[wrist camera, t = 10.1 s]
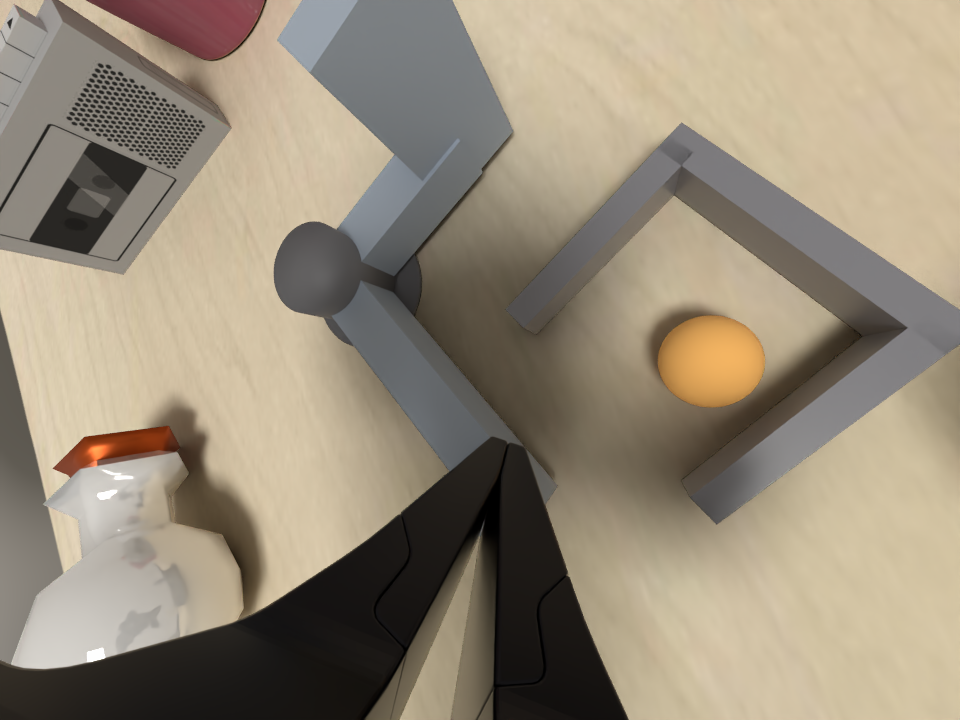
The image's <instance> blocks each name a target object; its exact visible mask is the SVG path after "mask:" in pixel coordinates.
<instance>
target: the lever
mask: <svg viewBox="0 0 960 720" xmlns="http://www.w3.org/2000/svg"><path fill="white" fill-rule="evenodd" d="M277 41H278V42H279V43H280V44H281V45H282V46H283V47H284V48H285V49H286V50H287V51H288V52H289V53H290V54H291V55H292V56H293V57H294V58H295V59H296V60H297V61H298V62H299V63H300V64H301V65H302V66H303V67H304V68H305V69H306V70H307V71H308V72H309V73H310V74H311V75H312V76H313V77H315V78H316V79H317V80H318V81H319V82H320V83H321V84H322V85H323V86H324V87H325V88H326V89H327V90H328V91H329V92H330V93H331V94H332V95H333V96H334V97H335V98H336V99H337V100H339V101H340V102H341V103H342V104H343V105H344V106H345V107H346V108H347V109H348V110H349V111H350V112H351V113H352V114H353V115H354V116H355V117H356V118H357V119H358V120H359V121H360V122H361V123H363V124H364V125H365V126H366V127H367V128H368V129H369V130H370V131H371V132H372V133H373V134H374V135H375V136H376V137H377V138H378V139H379V140H380V141H381V142H382V143H383V144H384V145H385V146H386V147H388V148H389V149H390V150H391V151H392V152H393V153H394V154H395V155H394V156H393V157H392V159H391V160H390V161H389V163H388V164H387V165H386V166H385V168H384V169H383V170H382V172H381V173H380V174H379V175H378V177H377V178H376V179H375V181H374V182H373V183H372V185H371V186H370V187H369V188H368V190H367V191H366V192H365V194H364V195H363V196H362V197H361V199H360V200H359V201H358V203H357V204H356V205H355V206H354V208H353V209H352V210H351V212H350V213H349V214H348V215H347V217H346V218H345V219H344V221H343V222H342V223H341V224H340V226H339V227H338V228H337V230H336V229H334V228H332V227H330V226H328V225H326V224H324V223H321V222H307V223H304V224H301V225H300V226H298V227H296V228H295V229H294V230H292V231H291V232H290V233H289V234H288V235H287V237H286V238H285V239H284V241H283V242H282V244H281V246H280V248H279V250H278V253H277V256H276V259H275V264H274V283H275V287H276V290H277V293H278V295H279V297H280V299H281V300H282V302H283V303H284V304H285V305H286V306H287V307H288V308H290V309H291V310H293V311H295V312H299V313H304V314H309V315H314V316H319V317H324V318H329V319H333V320H335V321H336V323H337V324H338V325H339V327H340V328H341V329H342V331H343V332H344V333H345V335H346V336H347V337H348V338H349V340H350V341H351V342H352V344H353V345H354V346H355V348H356V349H357V350H358V352H359V353H360V354H361V356H362V357H363V358H364V360H365V361H366V362H367V363H368V365H369V366H370V367H371V369H372V370H373V371H374V373H375V374H376V375H377V377H378V378H379V379H380V381H381V382H382V383H383V384H384V386H385V387H386V388H387V390H388V391H389V392H390V394H391V395H392V396H393V398H394V399H395V400H396V402H397V403H398V404H399V405H400V407H401V408H402V409H403V411H404V412H405V413H406V415H407V416H408V417H409V419H410V420H411V421H412V423H413V424H414V425H415V427H416V428H417V429H418V430H419V432H420V433H421V434H422V436H423V437H424V438H425V440H426V441H427V442H428V444H429V445H430V446H431V448H432V449H433V450H434V451H435V453H436V454H437V455H438V457H439V458H440V459H441V461H442V462H443V463H444V465H445V466H446V467H447V469H448V470H449V471H451V470H452V469H453V468H454V467H455V466H457V465H458V464H459V463H460V462H461V461H463V460H464V459H465V458H466V457H467V456H469V455H470V454H471V453H472V452H473V451H474V450H476V449H477V448H478V447H479V446H480V445H482V444H483V443H484V442H485V441H486V440H487V439H489V438H490V437H492V436H494V437H497V438H500V439H503V440H506V441H507V443H510V442H512V443H515V444H518V445H521V446H524V445H523V444H522V443H521V442H520V441H519V440H518V438H517V437H516V436H515V435H514V434H513V433H512V431H511V430H510V429H509V428H508V427H507V425H506V424H505V423H504V422H503V421H502V420H501V418H500V417H499V416H498V415H497V414H496V412H495V411H494V410H493V409H492V408H491V407H490V405H489V404H488V403H487V402H486V401H485V400H484V398H483V397H482V396H481V395H480V394H479V392H478V391H477V390H476V389H475V388H474V387H473V385H472V384H471V383H470V382H469V381H468V379H467V378H466V377H465V376H464V375H463V374H462V372H461V371H460V370H459V369H458V368H457V367H456V365H455V364H454V363H453V362H452V361H451V359H450V358H449V357H448V356H447V355H446V354H445V352H444V351H443V350H442V349H441V348H440V347H439V345H438V344H437V343H436V342H435V341H434V339H433V338H432V337H431V336H430V335H429V334H428V332H427V331H426V330H425V329H424V328H423V326H422V325H421V324H420V323H419V322H418V321H417V319H416V318H415V317H414V316H413V315H412V314H411V312H410V311H409V310H408V309H407V308H406V306H405V305H404V304H403V303H402V302H401V301H400V299H399V298H398V297H397V296H396V295H395V294H394V286H395V278H394V276H395V275H396V274H397V272H398V271H399V270H400V269H401V268H402V267H403V265H404V264H405V263H406V262H407V261H408V260H409V258H410V257H411V256H412V255H413V254H414V252H415V251H416V250H417V249H418V248H419V247H420V245H421V244H422V243H423V242H424V241H425V240H426V238H427V237H428V236H429V235H430V234H431V233H432V231H433V230H434V229H435V228H436V227H437V225H438V224H439V223H440V222H441V221H442V220H443V218H444V217H445V216H446V215H447V214H448V213H449V211H450V210H451V209H452V208H453V207H454V206H455V204H456V203H457V202H458V201H459V200H460V199H461V197H462V196H463V195H464V194H465V193H466V191H467V190H468V189H469V188H470V187H471V186H472V184H473V183H474V182H475V181H476V180H477V179H478V177H479V176H480V175H481V174H482V173H483V172H482V170H481V169H482V168H483V166H484V165H485V164H486V163H487V162H488V160H489V159H490V158H491V157H492V156H493V155H494V153H495V152H496V151H497V150H498V149H499V147H500V146H501V145H502V144H503V143H504V142H505V140H506V139H507V138H508V137H509V136H510V135H511V133H512V132H513V129H512V127H511V125H510V123H509V121H508V118H507V116H506V114H505V112H504V110H503V108H502V106H501V103H500V101H499V99H498V97H497V95H496V93H495V91H494V88H493V86H492V84H491V82H490V80H489V78H488V76H487V73H486V71H485V69H484V67H483V65H482V63H481V61H480V58H479V56H478V54H477V52H476V50H475V48H474V46H473V43H472V41H471V39H470V37H469V35H468V33H467V31H466V28H465V26H464V24H463V22H462V20H461V18H460V16H459V14H458V11H457V9H456V7H455V5H454V3H453V1H452V0H302V1H301V3H300V4H299V6H298V8H297V9H296V11H295V12H294V14H293V16H292V17H291V19H290V20H289V22H288V23H287V25H286V27H285V28H284V30H283V31H282V33H281V34H280V36H279V38H278V39H277ZM526 450H527V449H526ZM527 453H528V456H529V459H530V462H531V465H532V467H533V470H534V473H535V476H536V479H537V482H538V485H539V488H540V491H541V494H542V497H543V500H544V503H545V504H546V503H547V501H548V500H549V498H550V497H551V495H552V494H553V492H554V491H555V489H556V488H557V484H556V483H555V482H554V481H553V480H552V478H551V477H550V476H549V475H548V474H547V473H546V471H545V470H544V469H543V468H542V467H541V465H540V464H539V463H538V462H537V461H536V460H535V458H534V457H533V456H532V455H531V454H530V453H529V451H528V450H527ZM484 521H485V520H484ZM483 524H484V523H483ZM482 528H483V526H482ZM481 532H482V529H481ZM481 532H480V535H479V536H480V537H481Z"/></svg>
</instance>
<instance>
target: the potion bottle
mask: <svg viewBox="0 0 960 720" xmlns="http://www.w3.org/2000/svg"><path fill="white" fill-rule="evenodd" d="M179 448H180V446H179V444H178V442H177V440H176V438H175V436H174V435H173V433H172V431H171V429H170V427H169V426H164V427H156V428H148V429H141V430H133V431H125V432H118V433H110V434H102V435H95V436H87V437H84V438H83V439H82V440H81V441H80V442H79V443H78V444H77V445H76V446H75V447H74V448H73V449H72V450H71V451H70V452H69V453H68V454H67V455H66V456H65V457H64V458H63V459H62V460H61V461H60V462H59V463H58V464H57V465H56V466H55V467H54V468H53V469H55V470H57V471H60V472H62V473H65V474H67V475H68V476H69V477H70V479H69V480H68V481H67V482H66V483H65V484H64V485H63V486H62V487H61V488H59V489H58V490H57V491H56V492H55V493H54V494H53V495H52V496H51V497H50V498H49V499H48V500H47V501H46V502H45V503H44V504H43V505H46V506H48V507H50V508H52V509H55V510H57V511H59V512H62V513H64V514H66V515H69V516H71V517H73V518H75V519H78V523H79V533H80V543H81V553H82V559H81V560H80V561H79V562H77V563H76V564H75V565H74V566H72V567H71V568H70V569H69V570H67V571H66V572H65V573H64V574H62V575H61V576H60V577H59V578H57V579H56V580H55V581H54V582H52V583H51V584H50V585H49V586H47V587H46V588H45V589H44V590H42V591H41V592H40V593H38V594H37V595H36V598H35V601H34V603H33V606H32V609H31V611H30V614H29V617H28V620H27V622H26V625H25V628H24V630H23V633H22V636H21V639H20V641H19V644H18V647H17V650H16V652H15V655H14V657H13V660H12V663H11V665H14V666H18V667H22V668H34V669H49V668H59V667H68V666H73V665H78V664H82V663H87V662H91V661H95V660H99V659H102V658H106V657H110V656H113V655H117V654H120V653H124V652H128V651H131V650H135V649H139V648H142V647H146V646H149V645H153V644H157V643H160V642H164V641H168V640H171V639H175V638H178V637H182V636H186V635H189V634H193V633H197V632H200V631H204V630H207V629H211V628H215V627H218V626H222V625H225V624H229V623H232V622H235V621H237V620H238V618H239V616H240V614H241V612H242V610H243V609H244V605H243V584H242V572H241V570H240V568H239V566H238V564H237V562H236V560H235V558H234V556H233V554H232V552H231V550H230V549H229V547H228V545H227V543H226V541H225V539H224V537H223V535H222V534H220V533H216V532H212V531H207V530H203V529H199V528H194V527H190V526H186V525H182V524H177V523H176V518H175V513H174V508H173V503H172V495H173V494H174V493H175V491H176V490H177V489H178V487H179V486H180V485H181V483H182V482H183V481H184V479H185V478H186V477H187V475H188V474H189V472H188V470H187V469H186V467H185V465H184V463H183V462H182V460H181V458H180V456H179V454H178V453H177V452H176V451H177V450H178V449H179Z"/></svg>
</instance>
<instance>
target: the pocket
mask: <svg viewBox="0 0 960 720" xmlns="http://www.w3.org/2000/svg"><path fill="white" fill-rule="evenodd" d="M674 195H675V196H676V197H678V198H679V199H680V200H682V201H683V202H684V203H686V204H687V205H688V206H690V207H691V208H692V209H694V210H695V211H696V212H698V213H699V214H700V215H702V216H703V217H704V218H706V219H707V220H709V221H710V222H711V223H713V224H714V225H715V226H717V227H718V228H719V229H721V230H722V231H723V232H725V233H726V234H727V235H729V236H730V237H731V238H733V239H734V240H735V241H737V242H738V243H739V244H741V245H742V246H743V247H745V248H746V249H747V250H749V251H750V252H751V253H753V254H754V255H755V256H757V257H758V258H759V259H761V260H762V261H763V262H765V263H766V264H767V265H769V266H770V267H771V268H773V269H774V270H775V271H777V272H778V273H779V274H781V275H782V276H783V277H785V278H786V279H787V280H789V281H790V282H791V283H793V284H794V285H796V286H797V287H798V288H800V289H801V290H802V291H804V292H805V293H806V294H808V295H809V296H810V297H812V298H813V299H814V300H816V301H817V302H818V303H820V304H821V305H822V306H824V307H825V308H826V309H828V310H829V311H830V312H832V313H833V314H834V315H836V316H837V317H838V318H840V319H841V320H842V321H844V322H845V323H846V324H848V325H849V326H850V327H852V328H853V329H854V330H856V331H857V332H858V333H860V334H861V335H862V337H861V338H860V339H859V340H857V341H856V342H855V343H854V344H852V345H851V346H850V347H849V348H847V349H846V350H845V351H844V352H842V353H841V354H840V355H839V356H837V357H836V358H835V359H833V360H832V361H831V362H830V363H828V364H827V365H826V366H825V367H823V368H822V369H821V370H820V371H818V372H817V373H816V374H815V375H813V376H812V377H811V378H810V379H808V380H807V381H806V382H805V383H803V384H802V385H801V386H799V387H798V388H797V389H796V390H794V391H793V392H792V393H791V394H789V395H788V396H787V397H786V398H784V399H783V400H782V401H781V402H779V403H778V404H777V405H776V406H774V407H773V408H772V409H771V410H769V411H768V412H767V413H765V414H764V415H763V416H762V417H760V418H759V419H758V420H757V421H755V422H754V423H753V424H752V425H750V426H749V427H748V428H747V429H745V430H744V431H743V432H742V433H740V434H739V435H738V436H737V437H735V438H734V439H733V440H731V441H730V442H729V443H728V444H726V445H725V446H724V447H723V448H721V449H720V450H719V451H718V452H716V453H715V454H714V455H713V456H711V457H710V458H709V459H708V460H706V461H705V462H704V463H703V464H701V465H700V466H699V467H697V468H696V469H695V470H694V471H692V472H691V473H690V474H689V475H687V476H686V477H685V478H684V479H682V480H681V481H682V483H683V485H684V487H685V489H686V491H687V493H688V495H689V497H690V498H691V499H692V500H693V501H694V502H695V503H696V504H697V505H698V506H699V507H700V508H701V509H702V510H703V511H704V512H705V513H706V514H707V515H708V516H709V517H710V518H711V519H712V520H713V521H714V522H715V523H716V524H718V523H719V522H721V521H722V520H723V519H725V518H726V517H728V516H729V515H730V514H732V513H733V512H734V511H736V510H737V509H738V508H740V507H741V506H742V505H744V504H745V503H746V502H748V501H749V500H750V499H752V498H753V497H755V496H756V495H757V494H759V493H760V492H761V491H763V490H764V489H765V488H767V487H768V486H769V485H771V484H772V483H773V482H775V481H776V480H777V479H779V478H780V477H781V476H783V475H784V474H786V473H787V472H788V471H790V470H791V469H792V468H794V467H795V466H796V465H798V464H799V463H800V462H802V461H803V460H804V459H806V458H807V457H808V456H810V455H811V454H812V453H814V452H815V451H817V450H818V449H819V448H821V447H822V446H823V445H825V444H826V443H827V442H829V441H830V440H831V439H833V438H834V437H835V436H837V435H838V434H839V433H841V432H842V431H843V430H845V429H846V428H848V427H849V426H850V425H852V424H853V423H854V422H856V421H857V420H858V419H860V418H861V417H862V416H864V415H865V414H866V413H868V412H869V411H870V410H872V409H873V408H875V407H876V406H877V405H879V404H880V403H881V402H883V401H884V400H885V399H887V398H888V397H889V396H891V395H892V394H893V393H895V392H896V391H897V390H899V389H900V388H901V387H903V386H904V385H906V384H907V383H908V382H910V381H911V380H912V379H914V378H915V377H916V376H918V375H919V374H920V373H922V372H923V371H924V370H926V369H927V368H928V367H930V366H931V365H932V364H934V363H935V362H937V361H938V360H939V359H941V358H942V357H943V356H945V355H946V354H947V353H949V352H950V351H951V350H953V349H954V348H955V347H957V346H958V345H959V344H960V310H959V309H958V308H956V307H955V306H953V305H952V304H950V303H949V302H947V301H946V300H944V299H943V298H941V297H940V296H938V295H937V294H935V293H934V292H932V291H931V290H929V289H928V288H926V287H925V286H923V285H922V284H921V283H919V282H918V281H916V280H915V279H913V278H912V277H910V276H909V275H907V274H906V273H904V272H903V271H901V270H900V269H898V268H897V267H895V266H894V265H892V264H891V263H889V262H888V261H886V260H885V259H883V258H882V257H880V256H879V255H877V254H876V253H875V252H873V251H872V250H870V249H869V248H867V247H866V246H864V245H863V244H861V243H860V242H858V241H857V240H855V239H854V238H852V237H851V236H849V235H848V234H846V233H845V232H843V231H842V230H840V229H839V228H837V227H836V226H834V225H833V224H831V223H830V222H829V221H827V220H826V219H824V218H823V217H821V216H820V215H818V214H817V213H815V212H814V211H812V210H811V209H809V208H808V207H806V206H805V205H803V204H802V203H800V202H799V201H797V200H796V199H794V198H793V197H791V196H790V195H788V194H787V193H786V192H784V191H783V190H781V189H780V188H778V187H777V186H775V185H774V184H772V183H771V182H769V181H768V180H766V179H765V178H763V177H762V176H760V175H759V174H757V173H756V172H754V171H753V170H751V169H750V168H748V167H747V166H745V165H744V164H742V163H741V162H740V161H738V160H737V159H735V158H734V157H732V156H731V155H729V154H728V153H726V152H725V151H723V150H722V149H720V148H719V147H717V146H716V145H714V144H713V143H711V142H710V141H708V140H707V139H705V138H704V137H702V136H701V135H699V134H698V133H696V132H695V131H694V130H692V129H691V128H689V127H688V126H686V125H685V124H683V123H682V122H681V124H680V125H679V126H678V127H677V128H676V129H675V130H674V131H673V132H672V133H671V134H670V135H669V136H668V137H667V138H666V139H665V140H664V142H663V143H662V144H661V145H660V146H659V147H658V148H657V149H656V150H655V151H654V152H653V153H652V154H651V155H650V156H649V157H648V159H647V160H646V161H645V162H644V163H643V164H642V165H641V166H640V167H639V168H638V169H637V170H636V171H635V172H634V173H633V174H632V175H631V177H630V178H629V179H628V180H627V181H626V182H625V183H624V184H623V185H622V186H621V187H620V188H619V189H618V190H617V191H616V192H615V194H614V195H613V196H612V197H611V198H610V199H609V200H608V201H607V202H606V203H605V204H604V205H603V206H602V207H601V208H600V209H599V210H598V212H597V213H596V214H595V215H594V216H593V217H592V218H591V219H590V220H589V221H588V222H587V223H586V224H585V225H584V226H583V227H582V229H581V230H580V231H579V232H578V233H577V234H576V235H575V236H574V237H573V238H572V239H571V240H570V241H569V242H568V243H567V244H566V245H565V247H564V248H563V249H562V250H561V251H560V252H559V253H558V254H557V255H556V256H555V257H554V258H553V259H552V260H551V261H550V262H549V264H548V265H547V266H546V267H545V268H544V269H543V270H542V271H541V272H540V273H539V274H538V275H537V276H536V277H535V278H534V279H533V280H532V282H531V283H530V284H529V285H528V286H527V287H526V288H525V289H524V290H523V291H522V292H521V293H520V294H519V295H518V296H517V297H516V299H515V300H514V301H513V302H512V303H511V304H510V305H509V306H508V307H507V308H506V309H505V310H506V311H507V312H508V313H509V314H510V315H511V316H512V317H513V318H514V319H515V320H516V321H517V322H518V323H519V324H520V325H521V326H522V327H523V328H524V329H526V330H528V331H531V332H533V333H535V334H537V333H538V332H539V331H540V330H541V329H542V328H543V327H544V326H545V325H546V324H547V323H548V322H549V321H550V320H551V319H552V318H553V317H554V316H555V315H556V314H557V313H558V312H559V311H560V310H561V309H562V308H563V307H564V306H565V305H566V304H567V303H568V302H569V301H570V300H571V299H572V298H573V297H574V296H575V295H576V294H577V293H578V292H579V291H580V290H581V289H582V288H583V287H584V286H585V285H586V284H587V283H588V282H589V281H590V280H591V279H592V278H593V277H594V276H595V275H596V274H597V273H598V272H599V271H600V270H601V269H602V268H603V267H604V266H605V265H606V264H607V263H608V262H609V261H610V260H611V259H612V258H613V257H614V256H615V254H616V253H617V252H618V251H619V250H620V249H621V248H622V247H623V246H624V245H625V244H626V243H627V242H628V241H629V240H630V239H631V238H632V237H633V236H634V235H635V234H636V233H637V232H638V231H639V230H640V229H641V228H642V227H643V226H644V225H645V224H646V223H647V222H648V221H649V220H650V219H651V218H652V217H653V216H654V215H655V214H656V213H657V212H658V211H659V210H660V209H661V208H662V207H663V206H664V205H665V204H666V203H667V202H668V201H669V200H670V199H671V198H672V197H673V196H674Z"/></svg>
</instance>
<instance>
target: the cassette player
mask: <svg viewBox="0 0 960 720" xmlns="http://www.w3.org/2000/svg"><path fill="white" fill-rule="evenodd" d="M230 130H231V126H230V125H229V123H228V122H227V120H226V118H225V117H224V115H223V114H222V112H221V111H220V109H219V108H218V106H217V105H216V104H214V103H213V102H211V101H210V100H208V99H207V98H205V97H204V96H202V95H201V94H199V93H198V92H196V91H195V90H193V89H192V88H190V87H189V86H187V85H186V84H184V83H183V82H181V81H180V80H178V79H177V78H175V77H174V76H172V75H171V74H169V73H168V72H166V71H165V70H163V69H162V68H160V67H159V66H157V65H155V64H154V63H152V62H151V61H149V60H148V59H146V58H145V57H143V56H142V55H140V54H139V53H137V52H136V51H134V50H133V49H131V48H130V47H128V46H127V45H125V44H124V43H122V42H121V41H119V40H118V39H116V38H115V37H113V36H112V35H110V34H109V33H107V32H106V31H104V30H103V29H101V28H100V27H98V26H97V25H95V24H94V23H92V22H91V21H89V20H88V19H86V18H85V17H83V16H82V15H80V14H79V13H77V12H76V11H74V10H73V9H71V8H70V7H68V6H67V5H65V4H64V3H62V2H61V1H59V0H44V2H43V4H42V6H41V8H40V10H39V12H38V14H37V16H36V17H35V16H33V15H31V14H30V13H28V12H26V11H25V10H23V9H22V8H20V7H18V6H17V5H15V4H13V7H12V9H11V11H10V13H9V15H8V17H7V19H6V21H5V23H4V25H3V27H2V29H1V31H0V249H2V250H6V251H11V252H16V253H21V254H26V255H31V256H36V257H40V258H45V259H50V260H55V261H60V262H65V263H70V264H74V265H79V266H84V267H89V268H94V269H99V270H104V271H108V272H113V273H118V274H123V275H124V273H125V272H126V271H127V269H128V268H129V267H130V265H131V264H132V262H133V261H134V260H135V258H136V257H137V256H138V254H139V253H140V252H141V250H142V249H143V248H144V246H145V245H146V243H147V242H148V241H149V239H150V238H151V237H152V235H153V234H154V233H155V231H156V230H157V229H158V227H159V226H160V224H161V223H162V222H163V220H164V219H165V218H166V216H167V215H168V214H169V212H170V211H171V210H172V208H173V207H174V206H175V204H176V203H177V201H178V200H179V199H180V197H181V196H182V195H183V193H184V192H185V191H186V189H187V188H188V187H189V185H190V184H191V182H192V181H193V180H194V178H195V177H196V176H197V174H198V173H199V172H200V170H201V169H202V168H203V166H204V165H205V164H206V162H207V161H208V159H209V158H210V157H211V155H212V154H213V153H214V151H215V150H216V149H217V147H218V146H219V145H220V143H221V142H222V140H223V139H224V138H225V136H226V135H227V134H228V132H229V131H230Z"/></svg>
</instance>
